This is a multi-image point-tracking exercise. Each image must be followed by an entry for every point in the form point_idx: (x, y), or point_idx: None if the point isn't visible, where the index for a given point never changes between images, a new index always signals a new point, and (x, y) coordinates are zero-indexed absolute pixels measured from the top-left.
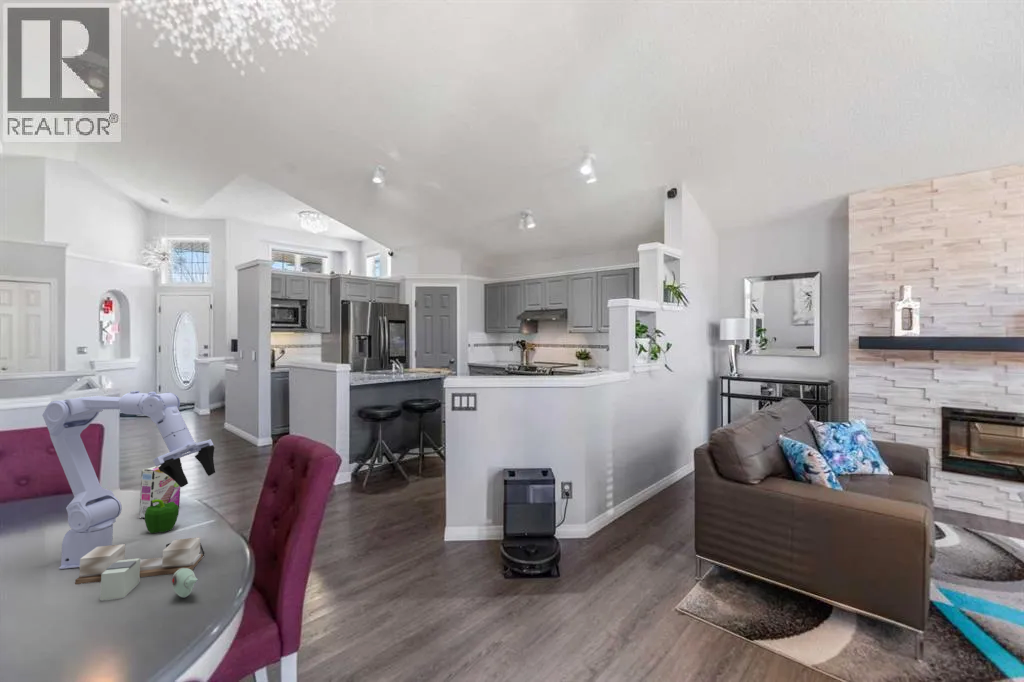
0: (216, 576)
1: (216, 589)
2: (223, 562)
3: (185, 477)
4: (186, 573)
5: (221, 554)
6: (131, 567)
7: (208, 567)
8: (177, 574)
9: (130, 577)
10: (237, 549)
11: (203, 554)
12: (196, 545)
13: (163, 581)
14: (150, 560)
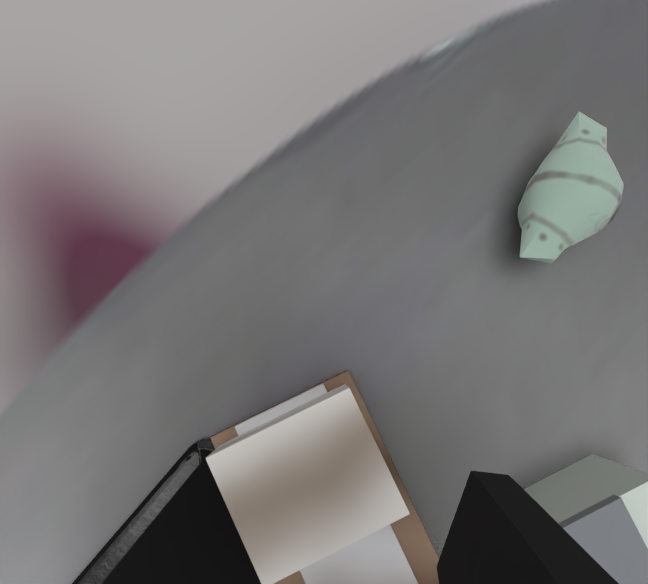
0: (361, 224)
1: (454, 141)
2: (238, 296)
3: (535, 538)
4: (600, 156)
5: (162, 373)
6: (593, 505)
7: (295, 325)
8: (621, 187)
9: (578, 489)
10: (97, 338)
11: (201, 441)
12: (264, 427)
13: (445, 415)
14: None
